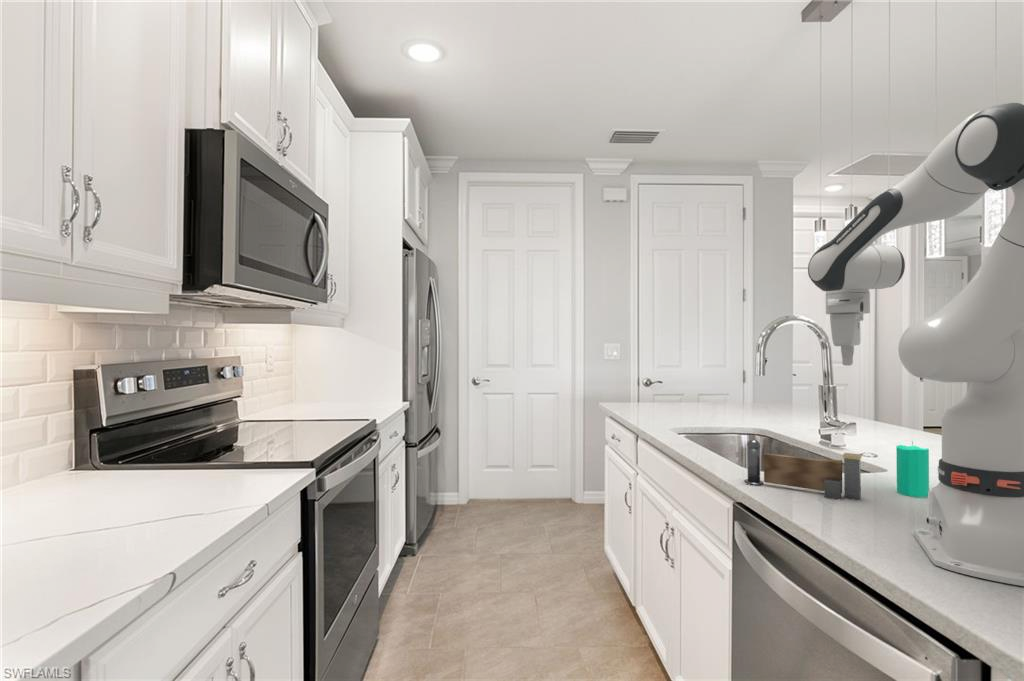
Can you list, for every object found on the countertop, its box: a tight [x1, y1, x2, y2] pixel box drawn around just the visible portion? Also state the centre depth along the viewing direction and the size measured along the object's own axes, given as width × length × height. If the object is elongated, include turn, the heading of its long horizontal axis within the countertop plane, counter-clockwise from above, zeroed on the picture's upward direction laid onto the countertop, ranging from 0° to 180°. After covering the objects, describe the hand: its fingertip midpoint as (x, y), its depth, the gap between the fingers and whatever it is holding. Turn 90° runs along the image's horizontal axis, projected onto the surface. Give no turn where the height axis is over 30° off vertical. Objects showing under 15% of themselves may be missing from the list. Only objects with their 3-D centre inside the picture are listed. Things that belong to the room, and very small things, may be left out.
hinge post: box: [743, 438, 765, 487], centre depth 130 cm, size 4×4×11 cm
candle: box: [896, 440, 930, 498], centre depth 121 cm, size 6×6×12 cm
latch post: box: [824, 452, 862, 501], centre depth 118 cm, size 5×7×10 cm
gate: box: [763, 452, 843, 495], centre depth 124 cm, size 16×2×7 cm, turn 52°
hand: (847, 365), depth 125 cm, fingers closed
